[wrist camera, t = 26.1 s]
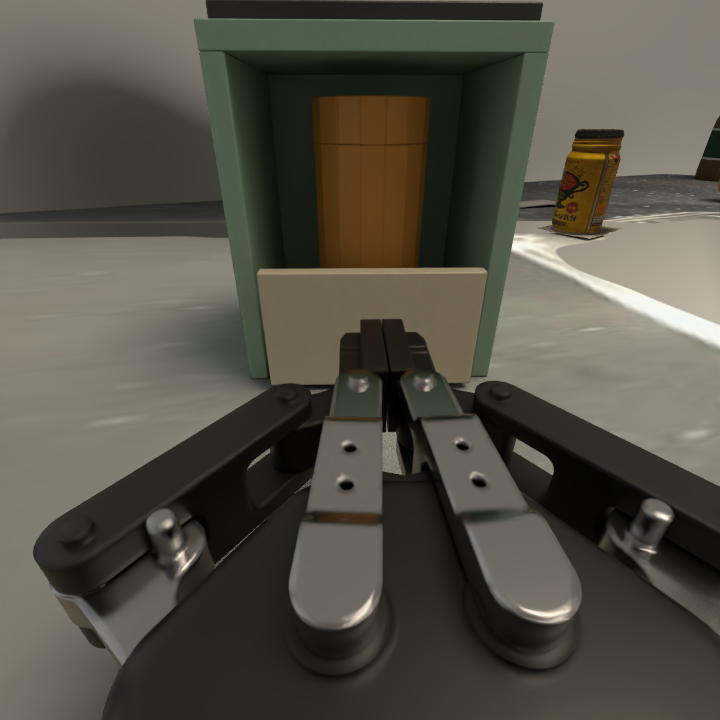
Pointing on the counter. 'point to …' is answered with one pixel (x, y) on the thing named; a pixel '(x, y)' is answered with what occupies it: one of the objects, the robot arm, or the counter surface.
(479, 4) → the green open box
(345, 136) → the jar
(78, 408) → the counter surface
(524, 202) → the cleaver
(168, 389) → the counter surface
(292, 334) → the beige drawer
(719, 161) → the beer bottle
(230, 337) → the counter surface
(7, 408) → the counter surface
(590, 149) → the condiment
